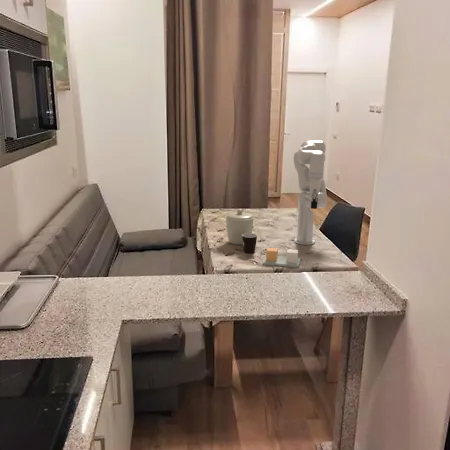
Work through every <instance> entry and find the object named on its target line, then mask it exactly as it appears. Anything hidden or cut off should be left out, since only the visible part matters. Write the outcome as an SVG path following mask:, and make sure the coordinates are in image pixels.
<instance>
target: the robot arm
mask: <svg viewBox="0 0 450 450" xmlns="http://www.w3.org/2000/svg"><path fill="white" fill-rule="evenodd" d="M326 148H327V147H326V144H325V142H323V140H305V141H303V142H302V143H301V145H300V148H299V150H297V151H296V152H294V154H293V164H294V169H295V170H296V172H297V177H298V188H299V191H300V192H299V193H298V195H297V206H298V207H297V208H298V210H297V211H298V212H297V213H298V214H297V230H296V232H297V233H296V237H295V238H294V240H293V241H294V243H295V244H297V245H303V246H305V245H306V246H307V245H308V246H310V245H314V244H315V243H316V240H315V239H314V237H313V236H314V221H315V220H314V219H315V218H314V217H315V215H314V211H313V210H316V209H318V208H319V209H320V208H321V209H322V208H326V206H327V205H328V196H327V187H326V180H325V179H324V170H325V169H324V168H325V160H326V154H325V153H326ZM308 165H309V166H308Z"/></svg>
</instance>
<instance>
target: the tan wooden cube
mask: <svg viewBox="0 0 450 450" xmlns="http://www.w3.org/2000/svg"><path fill="white" fill-rule="evenodd" d="M265 250H266V252H265V253H266V254H265V256H266V260H268V261H277V258H278V256H279V248H277V247H266V249H265Z"/></svg>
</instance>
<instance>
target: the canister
mask: <svg viewBox="0 0 450 450" xmlns="http://www.w3.org/2000/svg"><path fill="white" fill-rule="evenodd" d="M255 217H256V216H255V215H253V214H252V213H250V212H245V211H244V209H242V208H238V209H237V210H236V211H233V212H229V213H227V214H226V215H225V216H224V218H225V221H226V222H225V223H226V231H227V239H228V242H229V243H231V244H232V245H237V246H241V245H242V246H243V239H242V235H243V234H246V233H252V232H253V228H254V219H256V218H255Z"/></svg>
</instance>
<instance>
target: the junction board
mask: <svg viewBox="0 0 450 450" xmlns="http://www.w3.org/2000/svg"><path fill="white" fill-rule="evenodd" d="M298 256H299V249H291V248H289V249H288V248H287V251H286V255H278V258H277V261H268V260H266V255H264V259H263V260H262V265H264V266H273V265H278V266H277V267H284V266H285V268H286V267H287V268H296V267H297V268H299V267H300V262H301V257H298Z"/></svg>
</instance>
